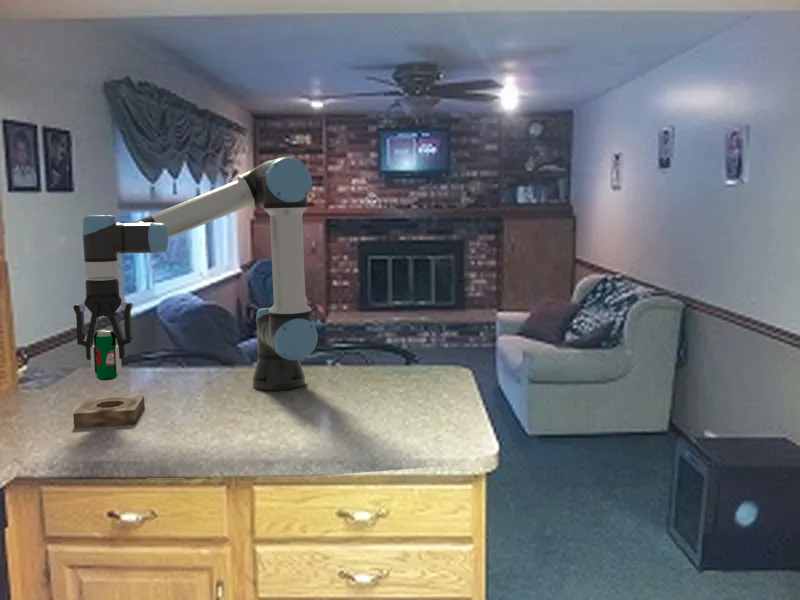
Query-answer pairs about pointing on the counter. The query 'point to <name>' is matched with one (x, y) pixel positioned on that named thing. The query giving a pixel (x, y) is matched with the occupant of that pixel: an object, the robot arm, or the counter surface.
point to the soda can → (105, 354)
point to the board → (109, 411)
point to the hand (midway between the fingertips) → (106, 371)
